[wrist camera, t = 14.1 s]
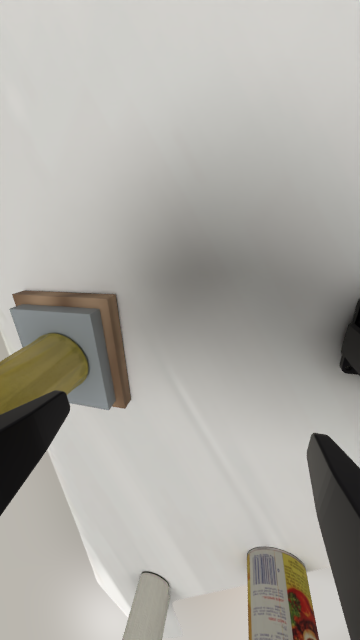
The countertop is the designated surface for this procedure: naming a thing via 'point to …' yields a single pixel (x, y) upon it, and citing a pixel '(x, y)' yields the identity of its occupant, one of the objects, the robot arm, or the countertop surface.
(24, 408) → the robot arm
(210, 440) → the countertop surface
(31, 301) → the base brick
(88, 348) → the top brick
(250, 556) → the canned food
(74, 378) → the vase
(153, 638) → the grey cylinder
